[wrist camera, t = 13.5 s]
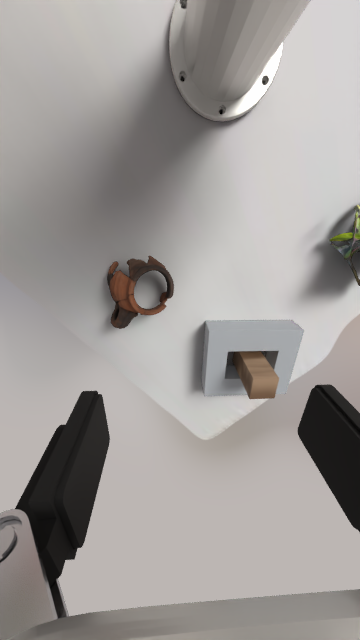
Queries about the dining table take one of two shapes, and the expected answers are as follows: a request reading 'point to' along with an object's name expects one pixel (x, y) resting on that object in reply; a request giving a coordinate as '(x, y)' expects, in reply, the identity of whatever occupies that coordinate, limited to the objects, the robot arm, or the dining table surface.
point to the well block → (247, 336)
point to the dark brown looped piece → (124, 290)
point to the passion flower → (351, 238)
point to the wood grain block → (256, 374)
